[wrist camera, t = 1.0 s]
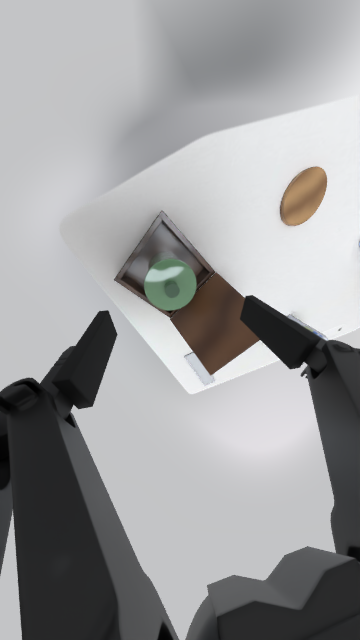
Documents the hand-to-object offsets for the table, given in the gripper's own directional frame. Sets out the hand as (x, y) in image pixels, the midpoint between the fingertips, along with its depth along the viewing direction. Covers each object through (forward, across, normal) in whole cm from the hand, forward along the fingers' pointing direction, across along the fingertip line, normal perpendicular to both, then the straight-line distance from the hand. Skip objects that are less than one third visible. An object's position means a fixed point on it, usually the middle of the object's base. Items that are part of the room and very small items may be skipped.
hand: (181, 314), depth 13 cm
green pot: (+17, 0, 0) cm, 17 cm away
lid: (+7, +7, -7) cm, 12 cm away
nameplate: (+18, +10, -36) cm, 42 cm away
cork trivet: (+18, +26, +11) cm, 34 cm away
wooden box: (+18, 0, 0) cm, 18 cm away
